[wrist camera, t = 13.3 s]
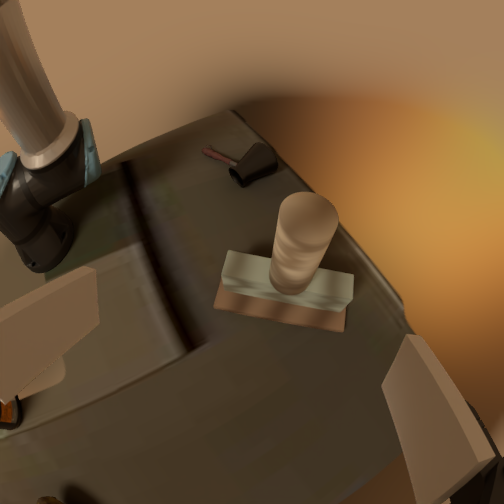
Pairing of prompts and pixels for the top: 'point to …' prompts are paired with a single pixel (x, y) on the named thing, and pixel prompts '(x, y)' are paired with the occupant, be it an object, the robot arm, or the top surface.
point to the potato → (48, 500)
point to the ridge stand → (280, 305)
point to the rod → (301, 240)
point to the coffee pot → (249, 163)
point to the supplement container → (10, 414)
